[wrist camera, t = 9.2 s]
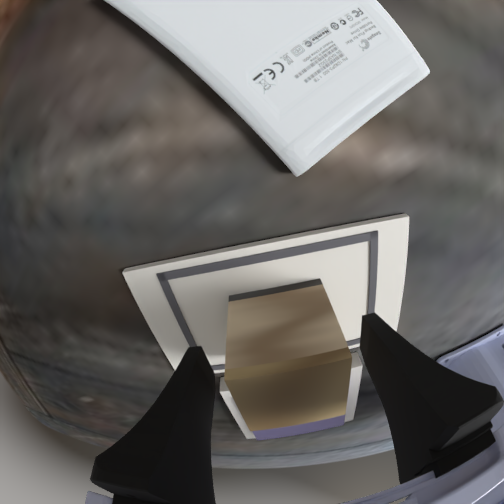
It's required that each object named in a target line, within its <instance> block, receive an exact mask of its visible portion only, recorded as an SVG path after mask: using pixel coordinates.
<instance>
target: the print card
mask: <svg viewBox="0 0 504 504" xmlns="http://www.w3.org/2000/svg"><path fill="white" fill-rule="evenodd" d="M408 234H409V216H408V215H407V214H405V213H404V214H399V215H394V216H388V217H383V218H377V219H372V220H367V221H361V222H356V223H350V224H345V225H340V226H335V227H329V228H324V229H319V230H314V231H308V232H303V233H298V234H293V235H288V236H283V237H277V238H272V239H267V240H262V241H257V242H252V243H247V244H242V245H237V246H232V247H227V248H222V249H217V250H212V251H207V252H202V253H197V254H192V255H187V256H182V257H177V258H173V259H168V260H163V261H158V262H153V263H148V264H144V265H139V266H134V267H129V268H125V269H124V271H123V272H122V273H123V275H124V278H125V280H126V282H127V284H128V286H129V288H130V290H131V292H132V294H133V296H134V298H135V300H136V302H137V304H138V306H139V308H140V310H141V312H142V314H143V316H144V318H145V320H146V321H147V323H148V325H149V327H150V329H151V331H152V332H153V334H154V336H155V338H156V340H157V341H158V343H159V345H160V347H161V348H162V350H163V352H164V353H165V355H166V357H167V358H168V360H169V362H170V363H171V365H172V366H173V368H174V370H176V368H177V367H178V365H179V363H180V361H181V359H182V358H183V356H184V354H185V352H186V350H187V349H188V347H195V346H202V348H203V350H204V353H205V355H206V357H207V359H208V361H209V363H210V365H211V367H212V369H213V371H214V373H221V372H225V355H226V336H227V318H228V301H229V295H234V294H240V293H246V292H251V291H257V290H263V289H268V288H273V287H279V286H284V285H289V284H294V283H299V282H305V281H310V280H314V279H319V278H320V279H321V282H322V284H323V286H324V289H325V291H326V293H327V296H328V298H329V300H330V303H331V305H332V308H333V310H334V312H335V315H336V317H337V320H338V322H339V325H340V327H341V330H342V332H343V335H344V337H345V340H346V342H347V345H348V347H349V349H351V348H355V347H359V346H360V336H361V323H362V315H366V314H370V313H374V312H375V313H376V314H377V315H378V316H379V317H381V318H382V319H383V320H384V321H385V322H386V323H387V324H388V325H389V326H390V327H392V328H393V329H394V330H395V331H397V326H398V321H399V315H400V309H401V303H402V296H403V288H404V280H405V272H406V261H407V250H408Z"/></svg>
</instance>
